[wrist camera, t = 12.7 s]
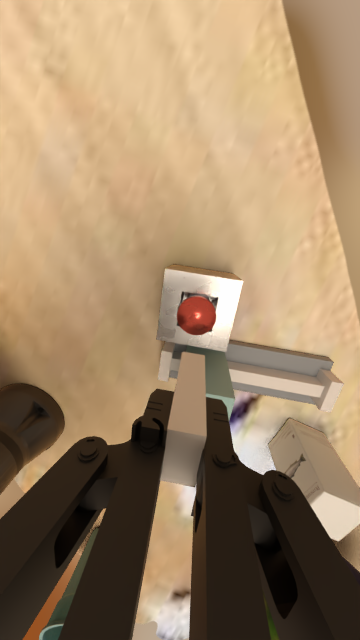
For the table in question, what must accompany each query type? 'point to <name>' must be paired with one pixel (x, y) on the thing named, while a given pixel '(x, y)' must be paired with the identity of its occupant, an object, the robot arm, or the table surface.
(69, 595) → the flower pot
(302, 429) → the supplement box
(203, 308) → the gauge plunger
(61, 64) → the table surface
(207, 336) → the grey boxy piece
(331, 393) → the rail
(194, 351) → the sage green rectangular prism
